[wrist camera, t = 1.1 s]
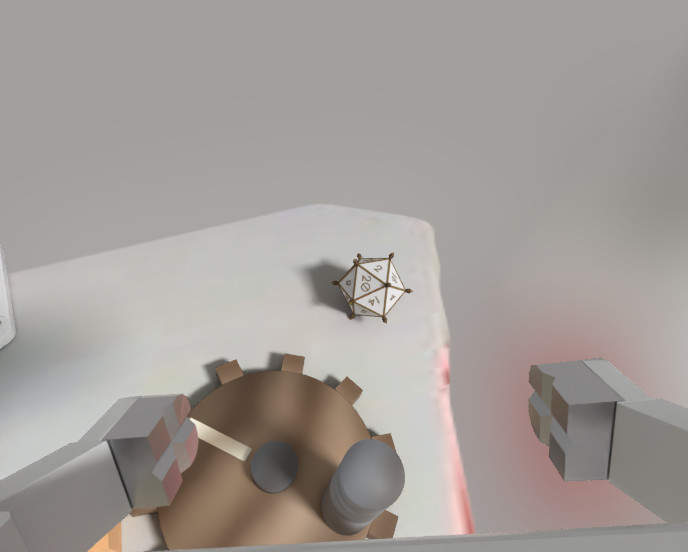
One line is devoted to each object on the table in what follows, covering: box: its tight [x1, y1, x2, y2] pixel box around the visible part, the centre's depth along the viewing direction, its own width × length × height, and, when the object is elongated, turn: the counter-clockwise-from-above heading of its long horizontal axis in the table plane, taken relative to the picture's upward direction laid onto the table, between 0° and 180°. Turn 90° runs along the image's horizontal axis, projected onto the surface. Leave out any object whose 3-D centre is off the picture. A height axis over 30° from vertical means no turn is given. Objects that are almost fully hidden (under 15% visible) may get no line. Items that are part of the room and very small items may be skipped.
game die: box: [331, 253, 413, 323], centre depth 49 cm, size 9×8×10 cm
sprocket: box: [129, 354, 405, 550], centre depth 32 cm, size 23×23×12 cm
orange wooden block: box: [87, 522, 122, 552], centre depth 30 cm, size 4×2×4 cm, turn 21°
